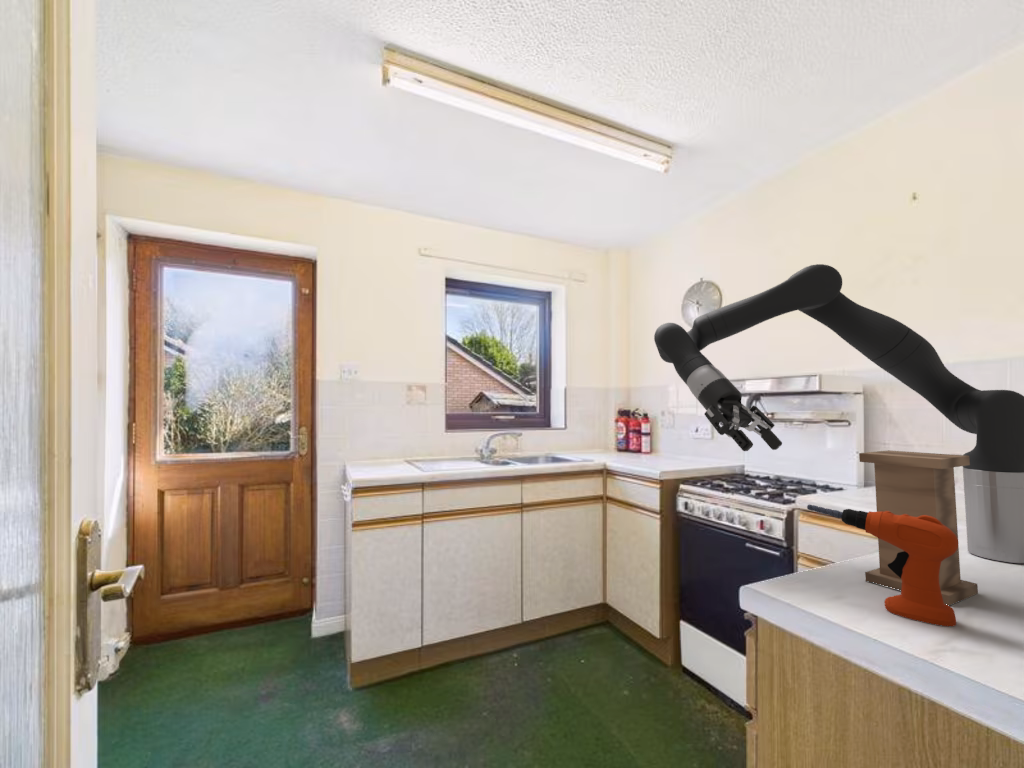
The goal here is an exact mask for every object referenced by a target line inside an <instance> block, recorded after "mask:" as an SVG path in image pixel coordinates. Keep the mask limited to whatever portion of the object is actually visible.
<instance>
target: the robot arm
mask: <svg viewBox="0 0 1024 768" xmlns="http://www.w3.org/2000/svg"><path fill="white" fill-rule="evenodd" d="M842 287H843V277H842V274H840V272H839V270H838V269H836V268H835V267H833V266H832V265H829V264H825V263H824V264H823V263H822V264H820V263H819V264H817V263H816V264H810V265H809V266H805V267H803V268H802V269H800V270H798V271H796V272H795V273H793V274H792V275H791V276H790V277H788V278H787V279H786V280H784V281H783V282H781V283H778V284H777V285H775V286H772V287H771V288H769V289H766V290H764V291H762V292H759V293H757V294H754V295H752V296H749V297H747V298H746V297H745V298H743V299H741V300H739V301H736V302H733V303H729V304H727V305H724V306H722V307H719V308H716V309H713V310H711V311H709V312H707V313H704V314H702V315H700V316H698V317H696V318H695V319H694V320H693V323H692V327H691V329H690V330H688V331H687V330H685V328H683V326H681V325H679V324H677V323H675V322H666V323H663V324H661V325H660V326H658V327H657V328H656V330H655V332H654V336H653V337H654V338H653V339H654V340H653V341H654V343H655V347H656V349H657V351H658V354H659V356H660V359H662V361H664V362H666V363H669V364H673V368H674V369H675V372H676V373H677V375H678V377H680V379H681V380H682V381H683V382H684V384H685V385H686V387H688V389H689V390H690V392H691V394H692V395H693V396H694V397H695V399H696V400H697V401H698V402H699V403H700V405H701V406H702V407H703V408H704V409H705V412H704V416H705V418H706V419H707V420H708V422H709V423H710V424H711V426H713V428H714V429H715V430H716V431H717V433H718V435H720V436H724V435H726V436H727V437H729V438H731V439H733V441H734V443H736V444H737V446H738V447H739V448H740V450H742V451H743V452H748V451H750V449H751V448H753V446H754V443H753V442H752V440H751V439H750V438H749V436H747V434H746V433H745V432H744V431H743V430H742V429H740V428H743V429H745V430H747V432H754V433H756V434H757V435H759V436H760V437H761V439H762V440H763V441H764V442H765V444H767V446H768V447H769V448H770V449H771V450H773V451H775V450H778V449H779V448H781V446H782V444H783V442H782V441H781V439H780V438H779V437H778V436H777V435H776V434H775V432H773V431H772V429H773V428H775V426H776V425H775V424H774V423H773V422H772V420H770V418H769V417H768V416H766V415H765V414H764V412H762V411H761V410H760V409H759V408H758V407H757V406H756V405H751V407H750V408H748V407H747V406H745V405H744V404H743V403H742V392H741V391H740V390H739V389H738V388H737V387H736V386H735V385H734V384H733V383H732V382H731V380H729V378H727V376H725V374H724V373H723V372H722V371H721V370H720V369H718V368H717V367H716V366H715V365H714V364H713V363H712V362H711V361H710V360H709V359H708V358H707V357H706V356H705V355H704V354H703V353H702V352H701V351H702V350H704V349H705V348H707V347H708V346H709V345H711V344H714V343H716V342H719V341H722V340H724V339H726V338H727V339H728V338H729V337H732V336H735V335H737V334H739V333H742V332H743V331H746V330H748V329H751V328H752V327H754V326H758V325H759V324H761V323H763V322H766V321H768V320H770V319H773V318H776V317H779V316H782V315H784V314H788V313H790V312H795V311H800V313H803V314H805V315H807V316H808V317H810V318H812V319H814V320H815V321H817V322H818V323H821V324H822V325H824V326H825V327H827V328H829V329H830V330H831V331H832V332H833V333H835V334H836V335H838V337H840V338H841V339H842V340H843V341H844V342H846V343H847V344H849V346H851V347H853V349H855V350H857V351H858V352H859V353H860V354H862V355H863V356H864V357H866V358H867V359H868V360H869V361H871V362H873V364H874V365H876V366H878V367H879V368H880V369H882V370H883V371H885V372H887V374H890V375H891V376H893V377H894V378H896V380H898V381H900V382H901V383H902V384H903V385H905V386H907V387H908V388H909V389H911V390H912V391H914V392H915V393H917V394H918V395H920V396H921V397H922V398H924V399H925V400H926V401H927V402H928V403H930V404H931V405H932V406H933V407H934V408H935V409H936V410H937V411H939V413H941V415H943V416H944V417H945V418H946V419H948V421H949V422H951V423H952V424H953V425H954V426H955V427H958V428H959V429H961V430H962V431H964V432H967V433H968V434H969V433H970V434H974V435H976V439H975V440H976V442H975V443H976V444H975V446H974V448H973V449H971V450H970V451H968V452H965V453H964V454H963V455H965V456H969V459H970V465H967V466H962V476H963V493H964V507H965V508H964V509H965V526H966V543H967V544H966V545H967V546H966V547H967V552H968V553H970V554H972V555H974V556H977V557H981V558H985V559H989V560H993V561H998V562H1005V563H1012V564H1013V563H1014V564H1024V395H1023V394H1021V393H1020V392H1017V391H1014V390H1009V389H987V390H981V389H978V388H976V387H974V386H972V385H970V384H968V383H967V382H965V381H964V380H962V379H960V378H959V377H957V376H956V375H954V374H953V372H951V371H950V370H949V369H948V368H947V367H946V366H945V364H944V363H943V361H942V359H941V357H940V356H939V353H938V352H937V350H936V349H935V347H934V346H933V345H932V344H931V343H930V341H928V339H926V338H925V337H923V336H922V335H920V334H919V333H917V331H915V330H914V329H912V328H910V327H909V326H907V325H906V324H904V323H903V322H901V321H899V320H897V319H895V318H892V317H890V316H889V315H886V314H883V313H881V312H878V311H876V310H873V309H870V308H868V307H865V306H863V305H861V304H859V303H857V302H856V301H853V300H851V299H850V298H849V297H847V296H846V295H845V294H844V293H842V292H841V290H842ZM720 423H721V424H722V425H721V426H720Z"/></svg>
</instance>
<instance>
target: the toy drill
mask: <svg viewBox="0 0 1024 768" xmlns="http://www.w3.org/2000/svg"><path fill="white" fill-rule="evenodd" d="M806 509H807V510H808V511H812V512H816V513H819V514H823V515H828V516H831V517H834V518H837V519H841V521H842V522H843V523H844V524H845V525H849V526H851V527H855V528H856V529H859V530H863V531H865V533H867V534H870V535H872V536H874V537H875V538H877V539H878V538H879V539H881V540H883V541H886V542H888V543H890V544H892V545H894V546H896V547H898V548H900V549H902V550H904V551H903V552H899V553H897V556H896V558H895V560H894V561H893V562H892V563H889V564H888V567H889V568H890V569H891V570H892V571H893V572H894V573H895V574H896V575H898V576H899V577H900V578H901V580H902V588H901V592H900V594H897V595H892V596H887V597H886V598H885V600H884V608H885V609H887V612H889V613H891V614H893V615H896V616H899V617H902V618H905V619H909V620H914V621H917V620H918V622H921V621H922V622H921V623H925V622H926V623H927V624H930V623H931V624H930V625H935V624H936V626H940V625H942V627H949V626H951V627H956V625H957V616H956V613H955V610H954V608H953V607H952V606H948V605H946V604H944V602H943V598H942V594H941V590H940V585H939V571H940V565H941V561H943V560H944V559H946V558H948V557H950V556H951V555H953V554H954V553H955V552H956V550H957V548H958V546H959V538H958V539H957V537H956V535H955V534H954V533H953V532H952V531H951V530H950V529H949V528H948V527H946V526H945V525H943V524H942V523H941V522H940V521H939V520H938V519H936V518H934V517H932V516H928V515H921V516H919V517H913V516H909V515H907V514H903V515H895V514H893V513H891V512H890V511H885V512H883V511H880V512H877V511H871V510H870V511H868V512H867V511H862V510H854V509H850V508H846V509H843V510H842V511H840V510H837V509H832V508H825V507H822V506H817V505H814V504H813V505H812V504H807V505H806Z"/></svg>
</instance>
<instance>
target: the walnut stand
mask: <svg viewBox="0 0 1024 768" xmlns="http://www.w3.org/2000/svg"><path fill="white" fill-rule="evenodd" d="M858 456H859V457H858V458H859V459H858V460H859V462H861V463H868V464H869V463H871V464H874V484H875V485H874V486H875V505H876V512H880V511H883V512H885V511H890V512H891V513H893V514H895V515H903V514H907V515H909V516H913V517H919V516H921V515H928V516H932V517H934V518H936V519H938V520H939V521H940V522H941V523H942V524H943V525H945V526H946V527H948V528H949V529H950V530H951V531H952V532H953V533H954V534H955V535H956V537H957V539H958V540H959V535H958V534H959V531H958V518H957V517H958V516H957V515H958V513H957V499H956V497H957V496H956V484H955V468H959V467H963V466H967V465H970V459H969V456H965V455H964V454H963V455H962V454H947V453H935V452H934V453H931V452H920V451H919V452H917V451H903V450H902V451H901V450H881V451H868V452H859V454H858ZM877 541H878V542H877V543H878V557H879V558H878V560H879V561H878V562H879V567H877V568H875V569H871V570H869V571H865V572H864V573H865V574H864V575H865V577H864V578H865V582H867V581H869V582H868V583H870V582H874V583H877V584H881V585H884V586H888V587H892V588H895V589H899V590H901V588H902V580H901V578H900V577H899V576H898V575H896V574H895V573H894V572H893V571H892V570H891V569H890V568H889V567H888V564H889V563H892V562H893V561H894V560H895V558H896V556H897V553H899V552H903V551H904V550H902V549H900V548H898V547H896V546H894V545H892V544H890V543H888V542H886V541H883V540H881V539H879V538H877ZM960 564H961V563H960V548H959V545H958V548H957V550H956V552H955V553H954V554H953V555H951V556H950V557H948V558H946V559H944V560H943V561H941V565H940V571H939V585H940V590H941V594H942V598H943V602H944V604H947V605H951V604H953V603H955V604H956V602H957V603H959V602H958V601H960V602H961V600H962V601H965V600H966V599H969V598H970V597H973V596H975V595H977V594H979V590H978V589H979V586H978V583H975V582H971V581H967V580H963V579H962V578H961V567H960V566H961V565H960ZM877 584H876V585H877ZM884 586H883V587H884ZM953 605H954V604H953ZM951 606H952V605H951Z"/></svg>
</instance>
